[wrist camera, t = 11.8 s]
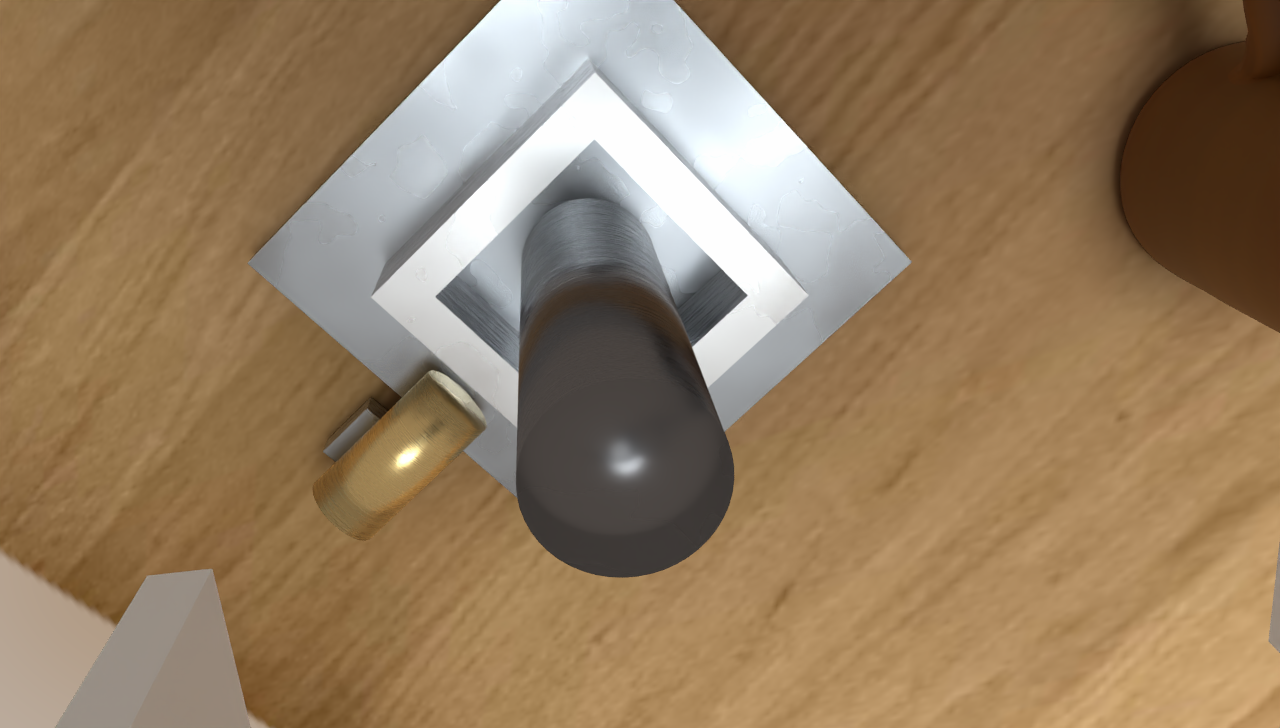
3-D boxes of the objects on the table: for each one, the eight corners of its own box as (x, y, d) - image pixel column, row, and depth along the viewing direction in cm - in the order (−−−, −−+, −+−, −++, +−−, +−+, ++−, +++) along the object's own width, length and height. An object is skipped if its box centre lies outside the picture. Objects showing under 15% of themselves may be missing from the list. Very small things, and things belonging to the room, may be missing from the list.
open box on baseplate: (587, -92, 34) (596, -95, 30) (902, 253, 38) (948, 294, 34) (178, 333, 37) (133, 386, 33) (510, 609, 41) (508, 687, 37)
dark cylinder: (505, 217, 36) (489, 410, 21) (638, 183, 36) (708, 354, 21) (541, 342, 37) (547, 600, 23) (668, 309, 37) (753, 547, 23)
